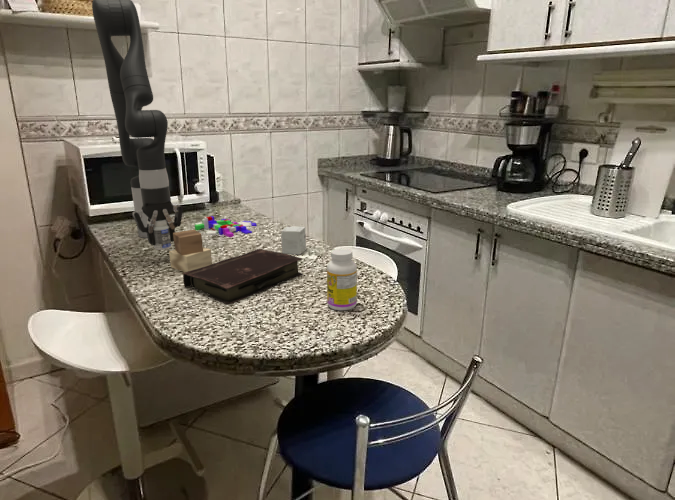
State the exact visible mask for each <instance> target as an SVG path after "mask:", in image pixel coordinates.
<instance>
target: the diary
mask: <svg viewBox="0 0 675 500" xmlns="http://www.w3.org/2000/svg"><path fill="white" fill-rule="evenodd" d="M302 260H303V258H302V257H299V256H295V255H292V254H283V253H282V252H278V251H274V250H273V251H272V250H266V249H261V248H258V249H255V250H252V251H249V252H247V253H243V254H241V255H238V256H232V257H230V258H226V259H224V260H223V259H222V260H220V261H217V262H214V263H212V264H211V265H208V266H206V267H202V268H198V269H195V270H191V271H187V272H183V273H182V280H183V284H184V285H183V286H184V288H189V287H191V288H190V289H194V290H196V291H200V292H202V293H205V294H207V297H209V298H210V299H212V300H215V301H217V302H220V303H223V304H227V305H228V304H233V303H237V302H238V301H241V300H244V299H247V298H249V297H251V296H253V295H256V294H258V293H261V292H263V291H265V290H267V289H270V288H272V287H276V286H278V285H280V284H281V283H283V282H287V281H290V280H292V279H295V278H297V277H300V276H303V275H304V273H302V272H299V261H302Z"/></svg>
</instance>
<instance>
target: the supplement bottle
mask: <svg viewBox="0 0 675 500" xmlns="http://www.w3.org/2000/svg"><path fill="white" fill-rule="evenodd" d="M330 257H331V260H330V261H329V262H328V263H327V265H326V294H327V295H326V297H327V298H326V301H327V302H326V303H327V305H328V307H329V308H330V309H331V310H334V311H341V312H342V311H349V310H353V309H354V308H355V307H356V305H357V300H358V294H357V293H358V292H357V291H358V288H357V287H358V284H357V283H358V277H357V276H358V273H357V272H358V266H357V264H356V262H355V261H354V260H352V258H353V250H352V249H349V248H342V247H341V248H335V249H332V250H331V252H330Z"/></svg>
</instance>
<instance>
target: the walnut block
mask: <svg viewBox="0 0 675 500" xmlns="http://www.w3.org/2000/svg"><path fill="white" fill-rule="evenodd" d="M173 238H174V242H173V246H174V250H176V251H177V252H178V253H179V254H180V255H187V254H192V253H198V252H203V247H204V246H203V235H202V233H201V232H199V231H198V230H195V229H189V230H184V231H183V230H182V231H177V232H176V231H175V233H173Z"/></svg>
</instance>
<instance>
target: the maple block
mask: <svg viewBox="0 0 675 500" xmlns="http://www.w3.org/2000/svg"><path fill="white" fill-rule="evenodd" d="M168 252H169V253H168V254H169V261H170V268H171V269H174V270H177V271H180V272H183V273H184V272H187V271H191V270H195V269H198V268H202V267H206V266H208V265H211V264H213V259H212V257H213V256H212V249H210V248H208V247H205V246H203V252H198V253H192V254H187V255H180V254H179V253H178V252H177V251H176V250H175V249H172V250H170V251H168Z"/></svg>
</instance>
